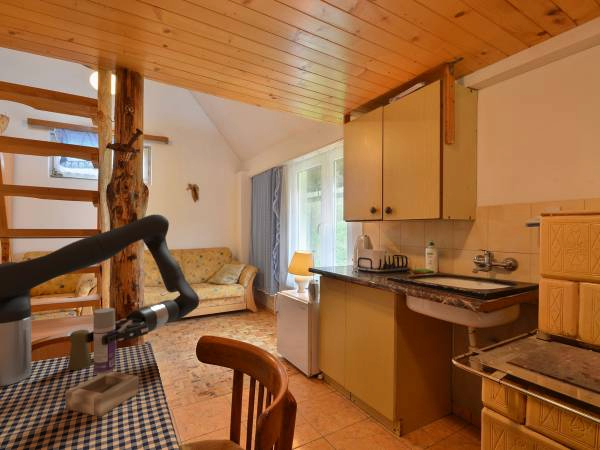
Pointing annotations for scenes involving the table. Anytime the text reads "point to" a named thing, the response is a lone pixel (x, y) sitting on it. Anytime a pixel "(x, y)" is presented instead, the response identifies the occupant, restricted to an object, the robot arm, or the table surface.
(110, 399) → the square holder
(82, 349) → the olive pepper mill
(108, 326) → the container
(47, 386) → the table surface
